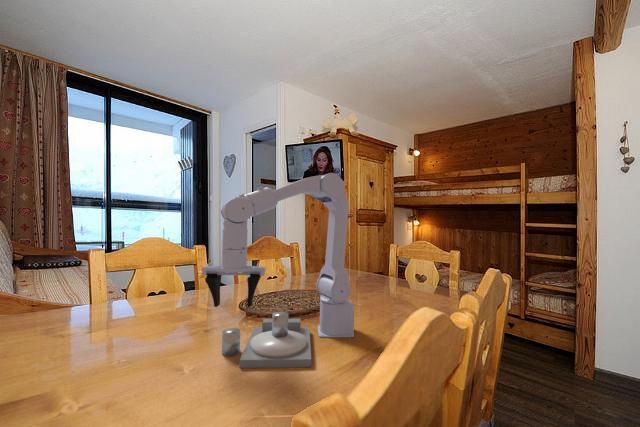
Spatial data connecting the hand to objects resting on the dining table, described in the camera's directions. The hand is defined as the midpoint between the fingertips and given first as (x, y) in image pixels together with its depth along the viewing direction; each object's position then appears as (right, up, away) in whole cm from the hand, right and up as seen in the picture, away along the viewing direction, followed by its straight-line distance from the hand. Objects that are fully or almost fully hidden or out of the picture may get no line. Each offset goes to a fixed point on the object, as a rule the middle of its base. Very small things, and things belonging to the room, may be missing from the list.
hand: (233, 305), depth 69 cm
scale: (+11, -11, +1) cm, 15 cm away
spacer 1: (0, -10, -2) cm, 11 cm away
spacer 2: (+11, -8, +3) cm, 14 cm away
